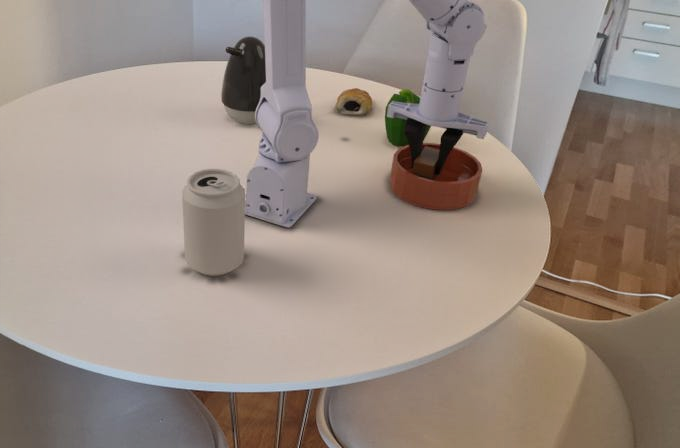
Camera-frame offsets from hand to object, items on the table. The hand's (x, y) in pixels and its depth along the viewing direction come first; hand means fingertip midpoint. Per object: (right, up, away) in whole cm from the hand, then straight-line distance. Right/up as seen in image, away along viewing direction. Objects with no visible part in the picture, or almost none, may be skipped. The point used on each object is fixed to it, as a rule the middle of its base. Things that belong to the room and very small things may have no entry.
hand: (427, 169), depth 99 cm
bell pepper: (-1, +6, +15) cm, 16 cm away
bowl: (+1, -3, +1) cm, 3 cm away
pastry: (-8, +14, +26) cm, 31 cm away
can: (-31, -13, -17) cm, 38 cm away
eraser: (0, -1, +1) cm, 1 cm away
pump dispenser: (-28, +11, +21) cm, 37 cm away
